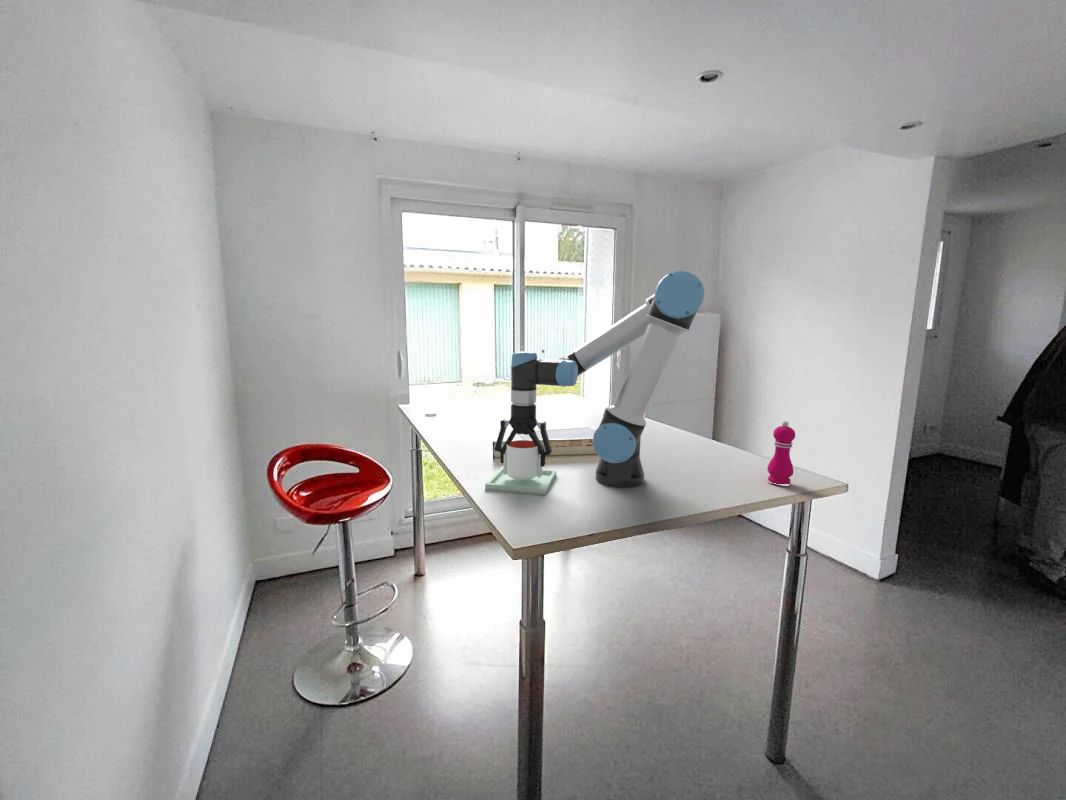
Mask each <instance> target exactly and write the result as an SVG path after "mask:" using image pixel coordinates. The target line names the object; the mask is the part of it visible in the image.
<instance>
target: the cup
mask: <svg viewBox="0 0 1066 800" xmlns="http://www.w3.org/2000/svg"><path fill="white" fill-rule="evenodd" d="M506 452H507V467H506V472H507V475H508V476H509V477H511V478H513V479H518V480H528V479H532V478H535V477H536V476H537V475H538V456H539V455H540V454H539V452H538V446H535V444H534V443H533V441H532V440H525V439H520V440H519V439H518V440H512V441H511V443H510V445H508V444H507V450H506Z"/></svg>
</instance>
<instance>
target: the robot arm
mask: <svg viewBox="0 0 1066 800" xmlns="http://www.w3.org/2000/svg"><path fill="white" fill-rule="evenodd" d="M704 299H705V289H704V285H703V283H702V280H700V278H699V277H698V276H696V275H695V274H694V273H691V272H690V271H687V270H675V271H673V272H672V271H671V272H670V273H667V274H666V275H664V276H663V277H662V278H661V279H660V280H659V282H658V283H657V284H656V286H655V289H654V293H653V294H652V295H651V296H649V297H648V298H646V300H645V303H644V304H643V305H642V306H640V307H638V308H637V309H635V310H634V311H632V312H630V313H629V314H627V315H626V316H624V317H623V318H621V319H620V320H618V321H617V322H616V323H614V324H612V325H611V326H609V327H608V328H605V330H603V331H601V332H600V333H599V334H597V335H595V336H593V337H592V338H591V339H589V340H588V341H585V342H584V343H583V344H581V345H580V346H579V347H577V348H575V349H574V350H572V351H571V352H569V353H567V354H565V355H564V356H562V357H560V358H557V359H542V358H538V355H537V352H536V351H523V350H522V351H521V350H520V351H514V352H513V353H512V354H511V366H510V376H511V377H510V379H511V380H510V381H511V382H510V384H511V385H510V402H511V405H510V419H505V418H503V419H502V420H501V421H500V430H499V433H498V436H497V440H496V442H495V445H494V451H495V452H498V453H500V454H499V455H500V463H501V464H503V466H504V475H506V474H507V472H506V467H507V444H508V445H510V443H511V441H514V440H513V439H514V438H515V437H516V435H525V436H527V435H528V436H529V438H530V439H531V441H533V443H534V444H535V446H538V452H539V456H538V478H540V477H541V476H542V469H543V467H545V466H546V457H547V456H550V455H551V453H552V446H551V444H550V443H551V442H550V439H549V435H548V432H547V422H546V421H538V420H537V405H536V402H537V386H541V385H543V386H553V387H554V386H556V387H563V388H565V387H574V386H575V385H577V382H578V378H579V376H580V375H582V374H583V373H586V372H587V371H588V370H589V369H591V368H593V367H595V366H596V365H597V364H599V363H602V361H604V360H606V359H608V358H610V357H611V356H612V355H614V354H616V353H617V352H619V351H621V350H622V349H623V348H626V347H627V346H629V345H630V344H632V343H634V342H635V341H637V340H639V339H640V338H641V337H642V339H641V341H640V344H639V346H638V349H637V351H636V353H635V355H634V358H633V360H632V363H631V364H630V367H629V370H628V372H627V374H626V377H625V379H624V381H623V383H622V386H621V388H620V390H619V393H618V395H617V398H616V400H615V402H614V403H613V404H611V405H609V406H607V407H605V408H604V410H603V414H602V419H601V421H600V423H599V426H598V427H597V429H595V431H594V433H593V438H592V446H593V449H594V451H595V453H596V454H597V455H598V457H599V458H600V459H599V461H598V464H597V467H596V470H595V479H596V481H597V482H598V483H601V484H603V485H606V486H610V487H616V488H635V487H638V486H641V485H642V484H644V483H645V472H644V469H643V466H642V465H643V464H642V460H641V453H640V452H641V438H642V437H641V436H642V434H643V432H644V430H645V427H646V425H647V421H646V419H645V417H644V416H645V414H646V411H647V410H648V407H649V404H650V402H651V401H652V398H653V396H654V394H655V391H656V390H657V388H658V387H657V386H658V385H659V383H660V380H661V378H662V376H663V374H664V372H665V369H666V367H667V365H668V362H669V360H670V358H671V356H672V353H673V351H674V349H675V347H676V344H677V342H678V341H679V339H680V336H681V335H682V334H684V333H687V332H689V330H690V328H691V326H692V323H693V322H694V320H695V317H696V315H697V313H698V310H699V309H700V307H701V306H702V304H703V302H704ZM509 425H510V427H511V428H512V430H511V432H510V434H509V436H508V437H507V439H506V441H505V442H504V443H503V440H504V438H505V435H506V432H507V431H506V430H507V428H508V427H509ZM536 427H537V428H538V429H539V431H540V434H541V438H542V442H543V444H542V443H541V440H540V439H539V437H538V434H537V432H536V431H535V428H536Z"/></svg>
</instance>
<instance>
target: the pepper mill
mask: <svg viewBox="0 0 1066 800" xmlns="http://www.w3.org/2000/svg"><path fill="white" fill-rule="evenodd" d="M772 435H773V438H774V439H775V440H774V443H773V445H774V446H775V449H774V453H773V456H772V459H770V461H769V462H768V465H767V469H766V470H767V472H768V474H769V476H767V481H768V480H769V481H770V482H772V483H776V484H790V485H791V482H792V481H791V477H792V476H793V475H794V465H793V463H792V459H791V456H790V454H791V449H792V448H793V441H794V440H795V438H796V431H795V430H794V429H793V428H792V427H791V426H789V422H788V421H785V420H784V421H782V423H781V425H780V426H778V427H777V426H776V427H775V429H774V431H773V434H772Z"/></svg>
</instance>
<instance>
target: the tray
mask: <svg viewBox="0 0 1066 800" xmlns="http://www.w3.org/2000/svg"><path fill="white" fill-rule="evenodd" d="M556 478H557V470H555V469H554V470H553V469H544V468H542V476H541V477H540V478H538V475H537V476H536V477H535V478H532V479H528V480H518V479H513V478H511V477H509V476H508V475H507V474H506V475H504V465H502V466H501V467H500V468H499V469H498V470H497V471H496V472H495V473H494V474H493V475H492V476H491V478H489V480H487V481H486V482H485V484H484V489H485V491H491V492H493V491H495V492H502V493H504V492H505V493H513V494H524V495H531V496H546V495H547V493H548V492H549V490H550V488H551V487H552V484H553V482H555V479H556Z"/></svg>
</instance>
